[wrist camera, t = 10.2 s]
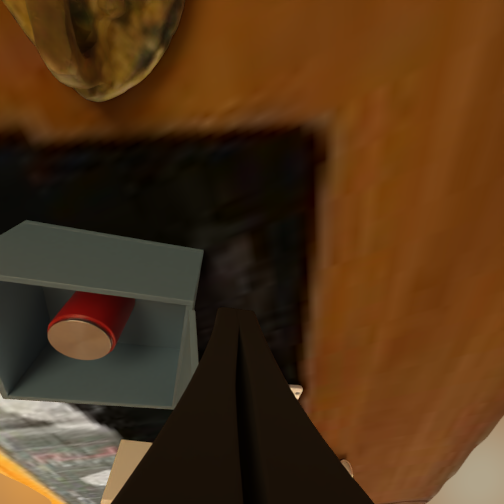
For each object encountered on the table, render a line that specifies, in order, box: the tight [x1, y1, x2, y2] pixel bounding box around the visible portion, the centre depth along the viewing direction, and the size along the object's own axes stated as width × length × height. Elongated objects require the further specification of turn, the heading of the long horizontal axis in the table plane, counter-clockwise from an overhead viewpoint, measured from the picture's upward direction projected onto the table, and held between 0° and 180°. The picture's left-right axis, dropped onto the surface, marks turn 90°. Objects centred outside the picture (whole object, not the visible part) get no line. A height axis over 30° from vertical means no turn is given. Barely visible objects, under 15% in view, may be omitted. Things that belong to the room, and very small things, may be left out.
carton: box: [0, 220, 204, 409], centre depth 19 cm, size 12×12×6 cm
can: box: [47, 291, 135, 360], centre depth 19 cm, size 4×4×4 cm
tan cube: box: [101, 440, 152, 504], centre depth 34 cm, size 6×6×6 cm
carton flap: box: [175, 310, 199, 407], centre depth 15 cm, size 6×12×1 cm
